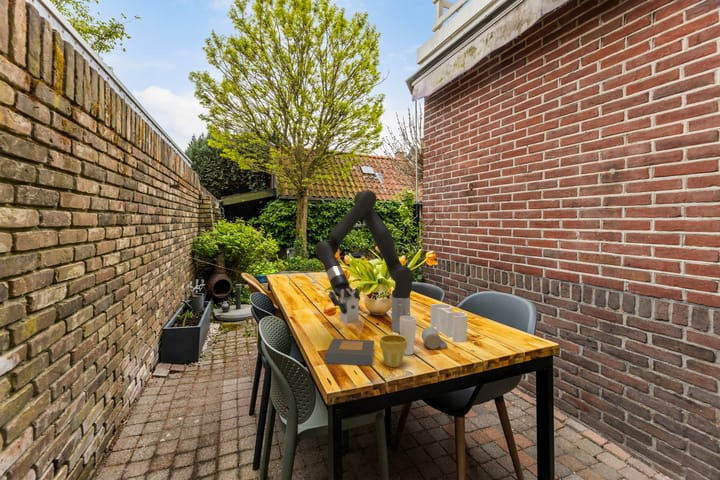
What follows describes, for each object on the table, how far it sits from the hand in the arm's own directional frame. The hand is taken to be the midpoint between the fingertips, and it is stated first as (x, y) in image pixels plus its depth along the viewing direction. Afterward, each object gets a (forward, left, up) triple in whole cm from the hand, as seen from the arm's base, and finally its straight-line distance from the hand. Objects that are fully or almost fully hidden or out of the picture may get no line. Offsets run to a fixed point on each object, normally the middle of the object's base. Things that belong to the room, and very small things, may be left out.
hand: (351, 311), depth 130 cm
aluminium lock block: (+1, -1, -4) cm, 5 cm away
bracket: (-45, -33, -18) cm, 59 cm away
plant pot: (-17, +6, -18) cm, 26 cm away
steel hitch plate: (0, +1, -18) cm, 18 cm away
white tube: (-23, -5, -18) cm, 30 cm away
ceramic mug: (-35, -14, -18) cm, 42 cm away
